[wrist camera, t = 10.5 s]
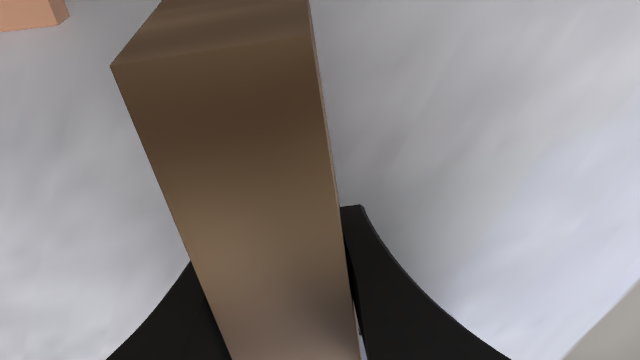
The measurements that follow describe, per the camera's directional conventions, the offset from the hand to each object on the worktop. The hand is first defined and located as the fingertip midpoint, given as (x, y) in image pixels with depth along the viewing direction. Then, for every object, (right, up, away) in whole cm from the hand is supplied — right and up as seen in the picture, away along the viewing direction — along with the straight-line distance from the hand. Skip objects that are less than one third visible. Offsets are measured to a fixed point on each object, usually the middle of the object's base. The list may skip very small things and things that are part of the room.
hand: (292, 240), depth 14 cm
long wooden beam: (0, +1, +1) cm, 2 cm away
